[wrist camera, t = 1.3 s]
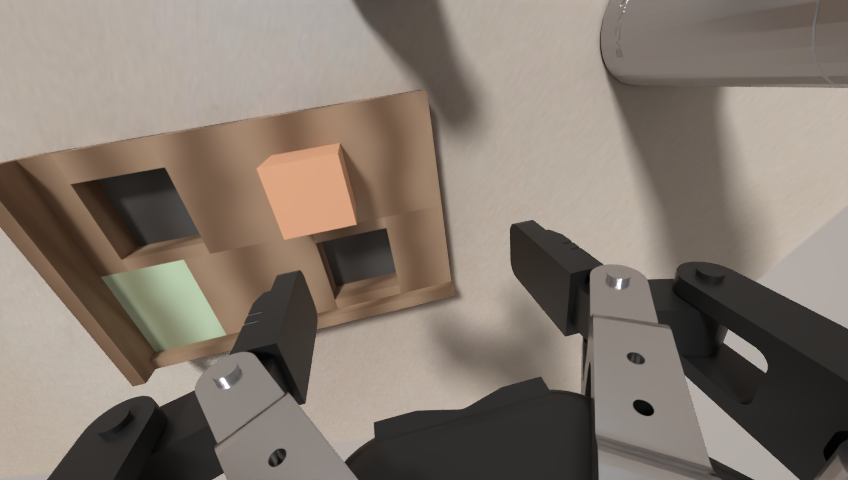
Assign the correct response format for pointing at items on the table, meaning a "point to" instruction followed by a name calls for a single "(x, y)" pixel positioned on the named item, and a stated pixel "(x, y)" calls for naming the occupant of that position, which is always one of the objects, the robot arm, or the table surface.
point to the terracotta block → (309, 190)
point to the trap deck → (227, 228)
